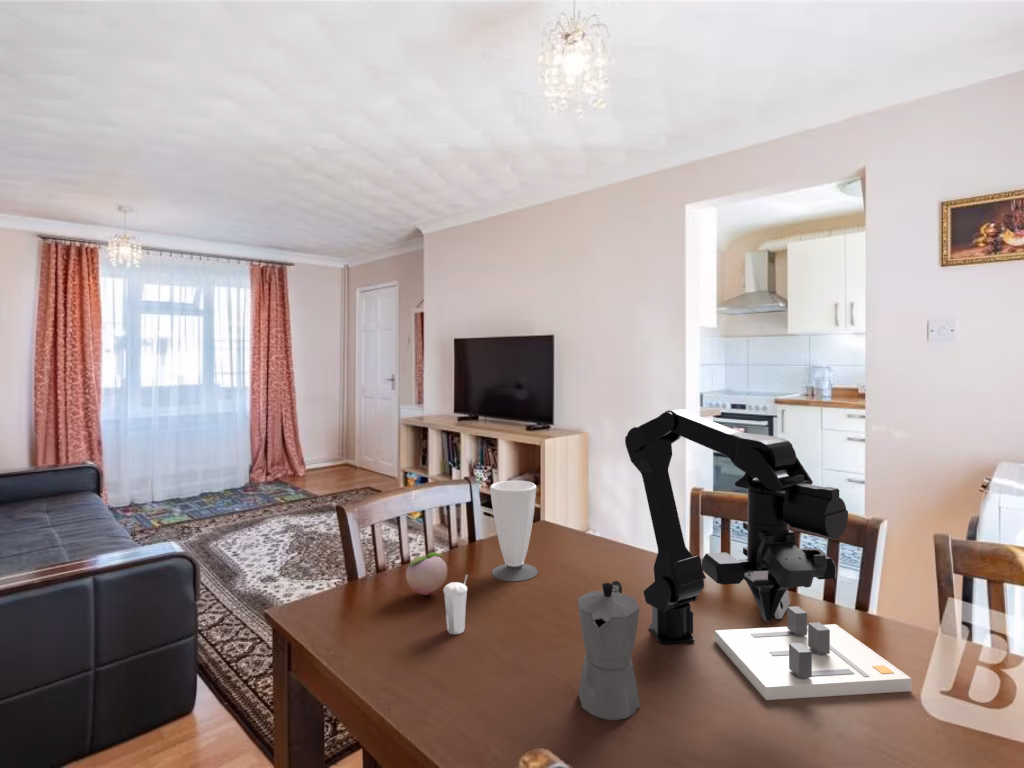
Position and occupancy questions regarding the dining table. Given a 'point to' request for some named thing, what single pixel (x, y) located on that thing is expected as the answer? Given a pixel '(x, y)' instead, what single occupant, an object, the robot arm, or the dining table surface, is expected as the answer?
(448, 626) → the milkshake
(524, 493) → the cup
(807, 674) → the block
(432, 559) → the decorative fruit
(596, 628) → the coffeepot
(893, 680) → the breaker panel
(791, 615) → the far breaker handle
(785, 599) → the electrical switch
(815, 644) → the handle
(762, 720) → the dining table surface
